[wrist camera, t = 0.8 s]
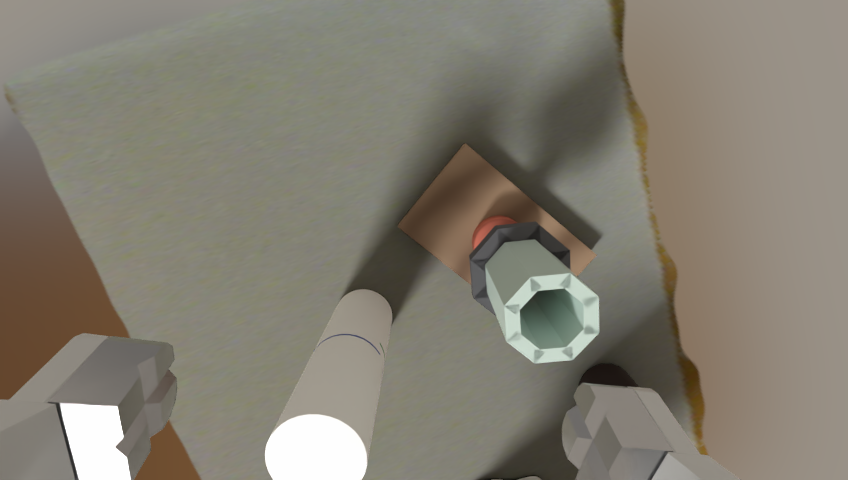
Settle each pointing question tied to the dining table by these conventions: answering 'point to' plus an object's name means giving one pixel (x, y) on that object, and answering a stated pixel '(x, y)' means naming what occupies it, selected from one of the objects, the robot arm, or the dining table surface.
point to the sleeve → (540, 302)
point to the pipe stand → (477, 213)
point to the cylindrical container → (335, 396)
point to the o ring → (496, 240)
